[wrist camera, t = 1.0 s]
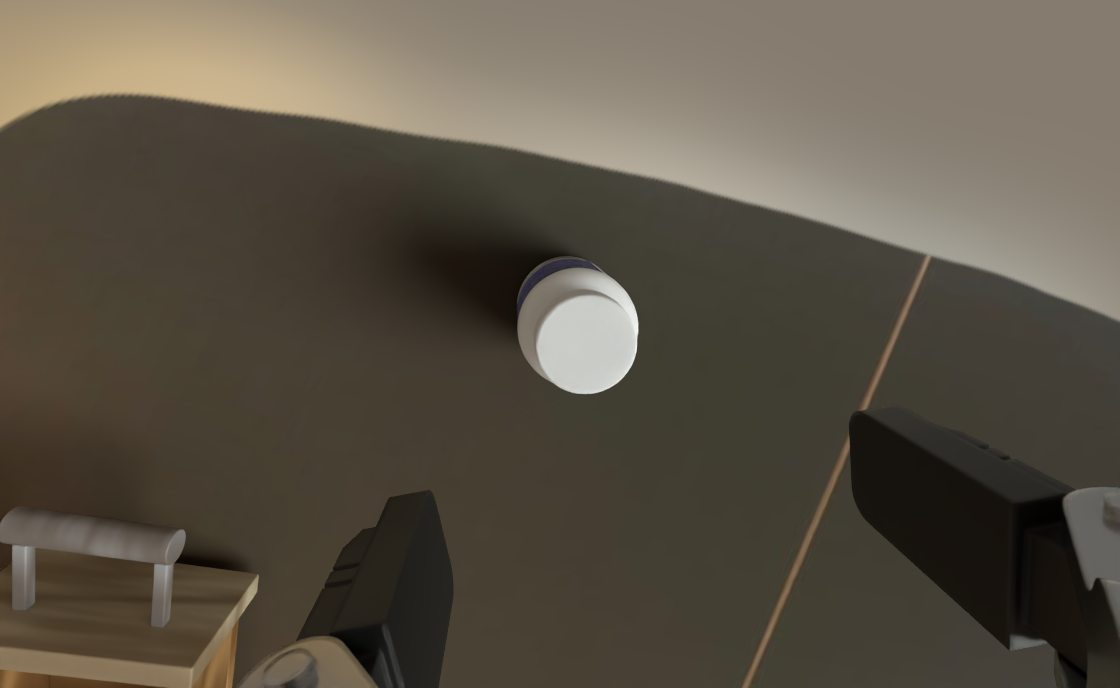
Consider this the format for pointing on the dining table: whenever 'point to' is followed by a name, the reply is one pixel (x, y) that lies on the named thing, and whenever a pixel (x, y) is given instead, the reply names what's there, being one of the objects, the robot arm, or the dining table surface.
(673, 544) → the dining table surface
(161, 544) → the drawer
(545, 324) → the pill bottle
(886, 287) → the dining table surface
